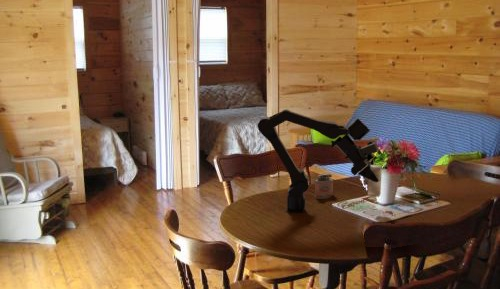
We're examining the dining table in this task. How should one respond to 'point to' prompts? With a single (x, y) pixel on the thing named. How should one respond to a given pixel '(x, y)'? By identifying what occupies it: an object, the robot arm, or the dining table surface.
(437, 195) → the dining table surface
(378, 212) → the plinth
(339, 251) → the dining table surface
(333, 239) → the dining table surface
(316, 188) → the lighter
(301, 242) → the dining table surface
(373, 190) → the block
